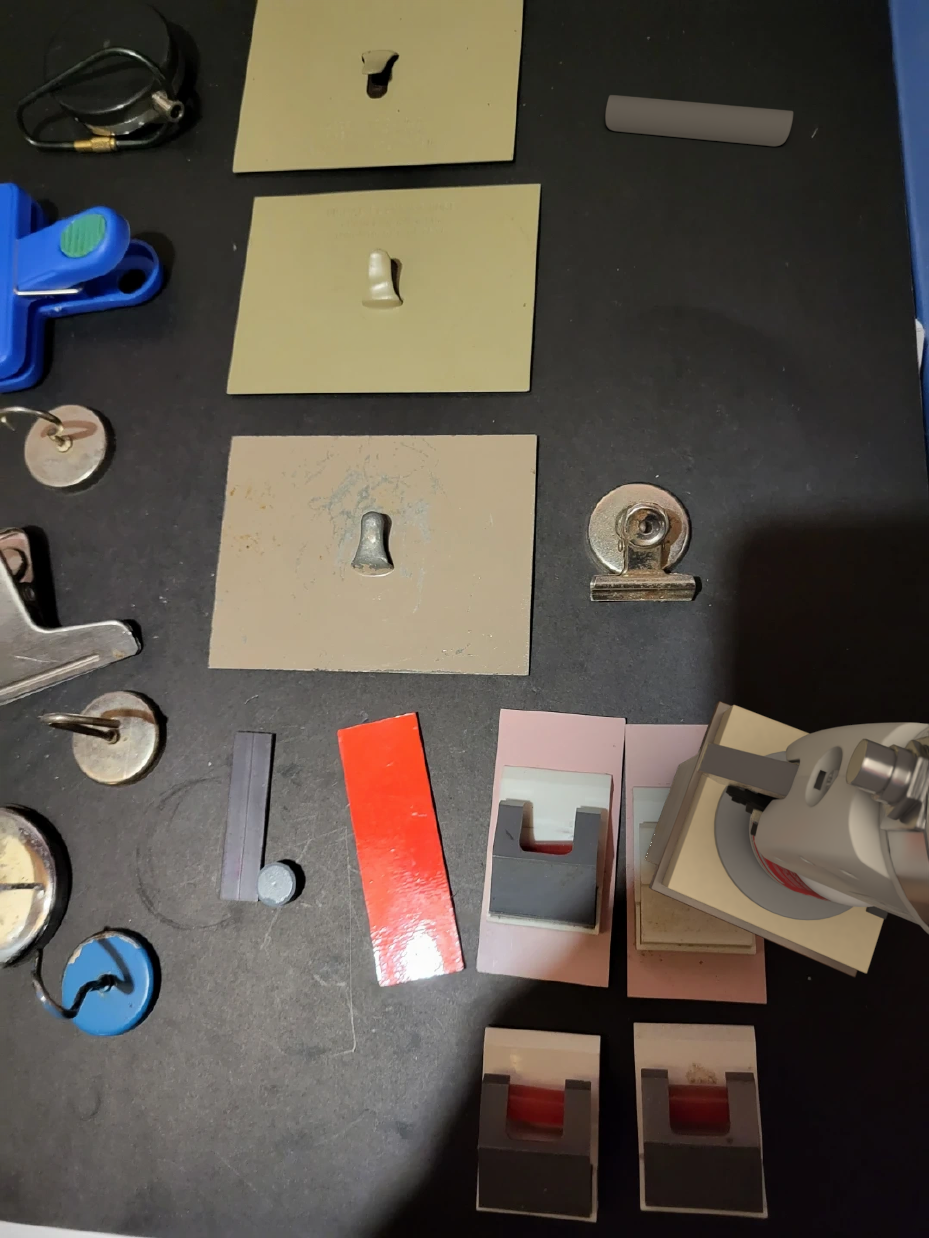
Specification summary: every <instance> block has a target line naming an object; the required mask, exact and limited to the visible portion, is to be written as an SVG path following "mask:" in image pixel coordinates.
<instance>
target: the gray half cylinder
mask: <svg viewBox="0 0 929 1238" xmlns="http://www.w3.org/2000/svg"><path fill="white" fill-rule="evenodd" d="M604 118H605V125H606V127H607V129H609V130H610V131H613V132H619V133H620V132H621V133H629V134H630V133H631V134H640V135H641V134H642V135H651V136H663V137H670V138H671V137H673V138H683V139H693V140H704V141H715V142H716V141H717V142H725V143H735V144H744V145H747V144H748V145H755V146H756V145H757V146H767V147H779V146H781V145H784V143H785V142H786V141H787V139H788V137H789V136H790V132H791V129H792V124H793V121H794V111H793V110H788V109H787V110H786V109H775V108H766V107H765V108H764V107H753V106H741V105H729V104H720V103H719V104H718V103H709V102H708V103H707V102H706V103H705V102H696V101H686V100H685V101H684V100H673V99H663V98H662V99H661V98H650V97H639V96H629V95H616V94H609V95H608V99H607V102H606V106H605V117H604Z"/></svg>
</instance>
